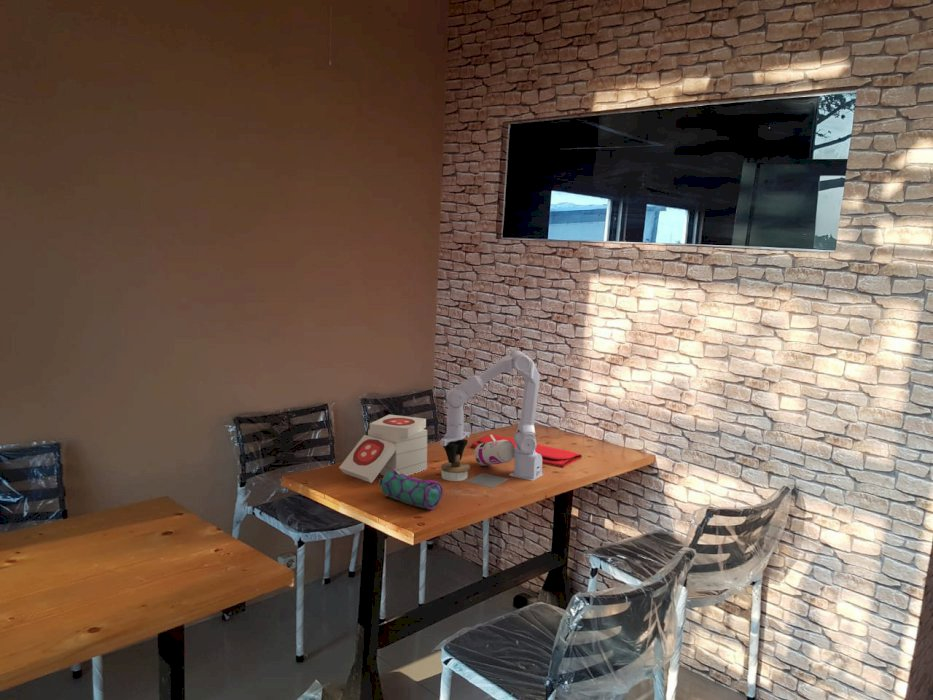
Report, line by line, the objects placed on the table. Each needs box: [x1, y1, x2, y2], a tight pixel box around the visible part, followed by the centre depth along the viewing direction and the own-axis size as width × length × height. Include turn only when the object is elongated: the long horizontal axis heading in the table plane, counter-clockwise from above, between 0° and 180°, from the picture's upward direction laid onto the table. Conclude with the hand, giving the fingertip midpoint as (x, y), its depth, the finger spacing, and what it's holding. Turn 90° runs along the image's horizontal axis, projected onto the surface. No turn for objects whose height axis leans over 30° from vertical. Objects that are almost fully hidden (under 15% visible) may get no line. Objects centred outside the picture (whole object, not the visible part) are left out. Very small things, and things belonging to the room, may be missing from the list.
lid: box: [440, 454, 471, 473], centre depth 252 cm, size 10×10×5 cm
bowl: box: [441, 469, 469, 482], centre depth 253 cm, size 9×9×4 cm
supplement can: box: [474, 440, 515, 467], centre depth 262 cm, size 8×8×15 cm
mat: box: [465, 472, 510, 489], centre depth 250 cm, size 11×11×1 cm
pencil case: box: [377, 468, 444, 511], centre depth 229 cm, size 21×9×10 cm, turn 51°
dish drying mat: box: [471, 433, 583, 468], centre depth 284 cm, size 16×41×4 cm, turn 55°
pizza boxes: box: [338, 413, 428, 484], centre depth 255 cm, size 19×30×18 cm, turn 138°
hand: (454, 461), depth 252 cm, fingers open, 3 cm apart
